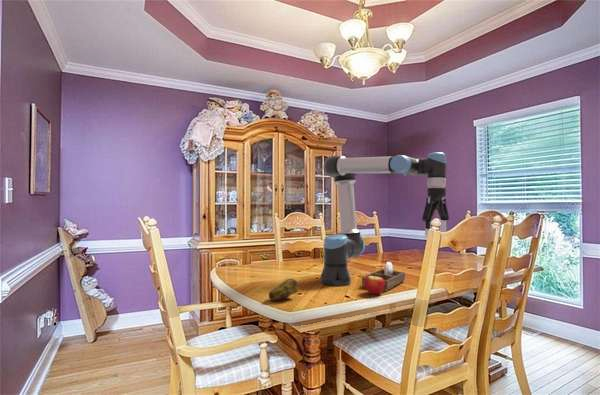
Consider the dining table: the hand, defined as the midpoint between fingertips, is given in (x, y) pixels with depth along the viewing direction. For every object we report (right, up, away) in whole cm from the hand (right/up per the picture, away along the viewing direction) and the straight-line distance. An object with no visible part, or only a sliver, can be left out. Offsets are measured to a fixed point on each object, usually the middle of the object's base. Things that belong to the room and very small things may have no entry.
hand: (435, 235), depth 144 cm
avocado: (-67, -25, -10) cm, 72 cm away
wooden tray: (-19, -26, +15) cm, 35 cm away
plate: (-16, -25, +19) cm, 35 cm away
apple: (-28, -26, -1) cm, 38 cm away
